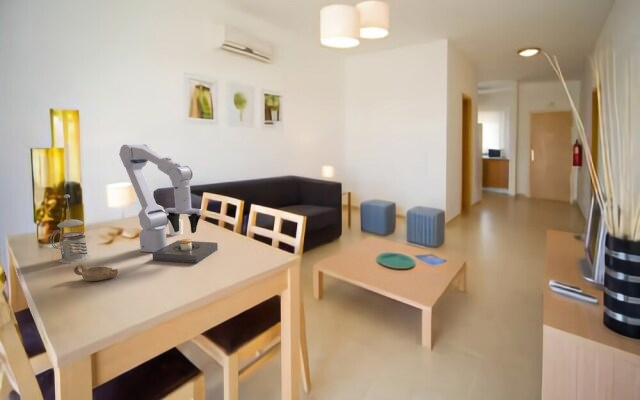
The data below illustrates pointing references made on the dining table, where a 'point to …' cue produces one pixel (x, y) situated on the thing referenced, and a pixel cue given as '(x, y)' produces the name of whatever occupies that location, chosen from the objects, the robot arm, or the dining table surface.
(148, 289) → the dining table surface
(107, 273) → the oil lamp
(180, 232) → the cream tapered cylinder
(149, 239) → the robot arm
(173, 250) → the dark grey slab
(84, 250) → the french press
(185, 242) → the plug
